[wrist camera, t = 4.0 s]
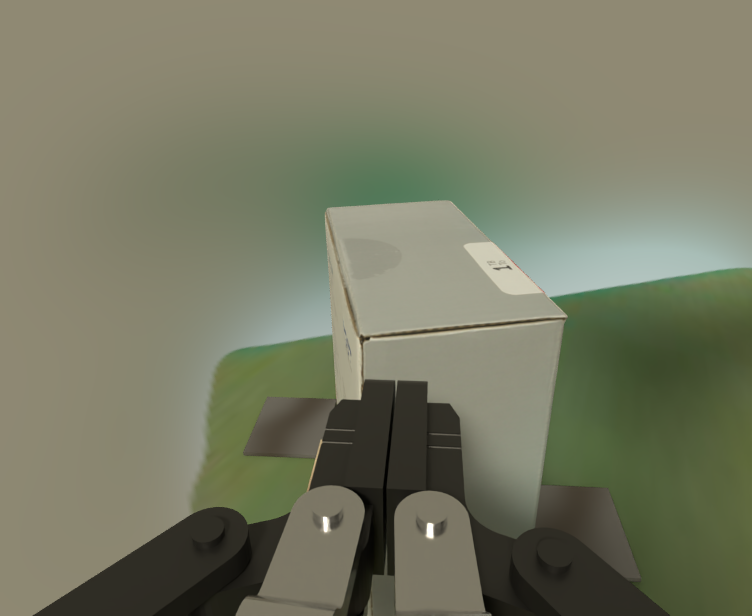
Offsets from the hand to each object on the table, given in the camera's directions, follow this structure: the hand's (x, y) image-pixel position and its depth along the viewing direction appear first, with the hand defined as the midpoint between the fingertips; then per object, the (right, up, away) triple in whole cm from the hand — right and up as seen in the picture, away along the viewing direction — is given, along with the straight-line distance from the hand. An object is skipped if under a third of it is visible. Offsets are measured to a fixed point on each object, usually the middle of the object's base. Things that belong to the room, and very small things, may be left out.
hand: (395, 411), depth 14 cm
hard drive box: (+2, -13, +21) cm, 25 cm away
